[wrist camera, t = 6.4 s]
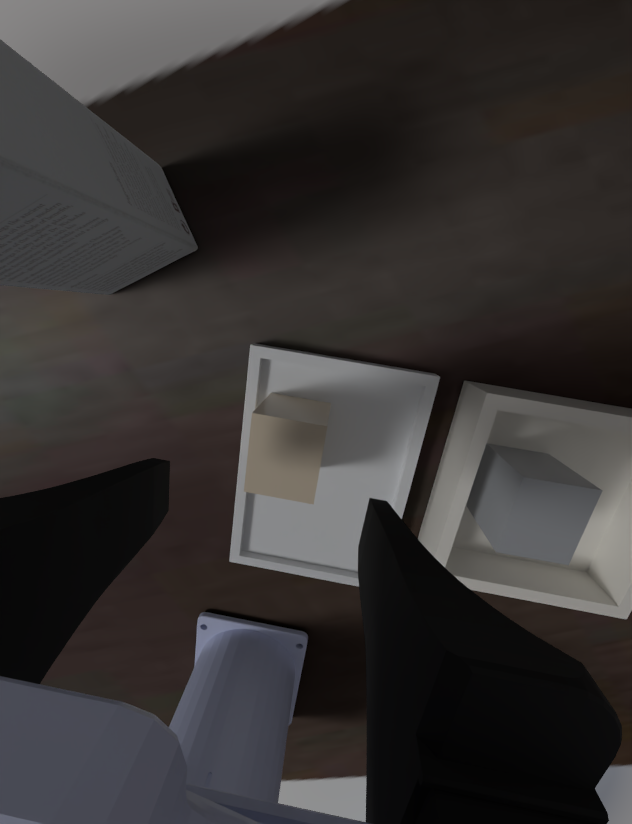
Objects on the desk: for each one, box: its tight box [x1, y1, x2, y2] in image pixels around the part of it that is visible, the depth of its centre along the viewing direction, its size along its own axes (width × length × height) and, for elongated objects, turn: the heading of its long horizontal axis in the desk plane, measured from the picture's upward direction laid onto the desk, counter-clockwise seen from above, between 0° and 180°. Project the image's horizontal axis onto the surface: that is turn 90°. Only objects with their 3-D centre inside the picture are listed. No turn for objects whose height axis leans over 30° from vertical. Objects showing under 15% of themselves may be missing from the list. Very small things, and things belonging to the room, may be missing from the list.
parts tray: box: [229, 343, 440, 586], centre depth 20 cm, size 14×10×1 cm
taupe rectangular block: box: [244, 393, 331, 504], centre depth 17 cm, size 4×3×4 cm
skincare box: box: [0, 40, 198, 295], centre depth 12 cm, size 6×4×12 cm
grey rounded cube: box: [466, 443, 603, 565], centre depth 17 cm, size 4×3×4 cm
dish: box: [418, 380, 632, 619], centre depth 18 cm, size 11×11×3 cm
